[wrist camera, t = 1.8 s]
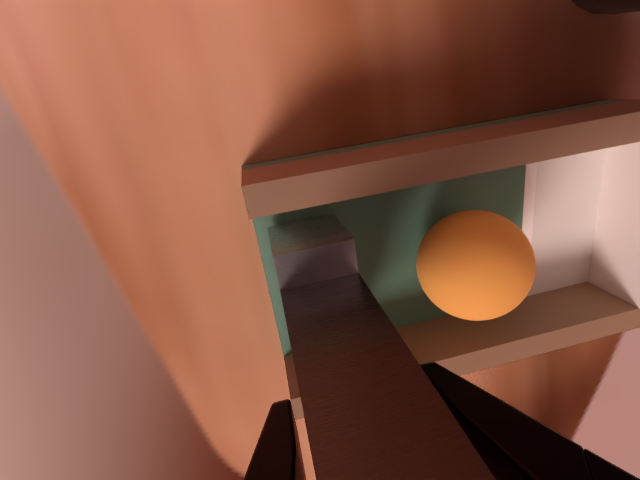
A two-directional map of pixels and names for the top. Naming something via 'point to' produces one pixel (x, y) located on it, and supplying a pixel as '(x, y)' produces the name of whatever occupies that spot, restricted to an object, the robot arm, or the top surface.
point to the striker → (360, 369)
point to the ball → (476, 265)
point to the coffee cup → (609, 6)
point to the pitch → (488, 195)
